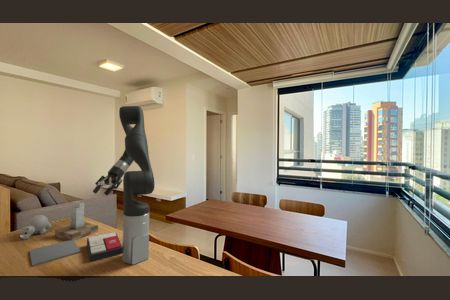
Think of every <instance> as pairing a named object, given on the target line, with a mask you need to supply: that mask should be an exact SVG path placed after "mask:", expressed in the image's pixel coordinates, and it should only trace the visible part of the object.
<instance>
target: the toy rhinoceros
mask: <svg viewBox="0 0 450 300" xmlns="http://www.w3.org/2000/svg"><path fill="white" fill-rule="evenodd" d="M20 228H21V229H22V231H21V232H22V234H20V235H19V237H20V238H21V239H22V240H28V239H29V238H30V237H31V235H33V234H34V235H37V234H40V235H44V234H45V233H47V230H50V229H52V228H53V225H52V223H50V222H49V218H48V217H47V216H46V215H43V214H37V215H35V216H32V217H31V218H30V219H29V221H28V222H27V226H25V227H23V226H21V227H20Z"/></svg>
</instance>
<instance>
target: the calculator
mask: <svg viewBox="0 0 450 300" xmlns="http://www.w3.org/2000/svg"><path fill="white" fill-rule="evenodd" d="M86 249H87V253H88V260H89V261H88V262H90V263H92V262H95V261H100V260H102V259H107V258H111V257H115V256H118V255H122V243H121V240H120V238H119V236H118V234H117V232H115V231H114V232H108V233H104V234H100V235H99V234H98V235H94V236H90V237H87V238H86Z"/></svg>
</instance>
